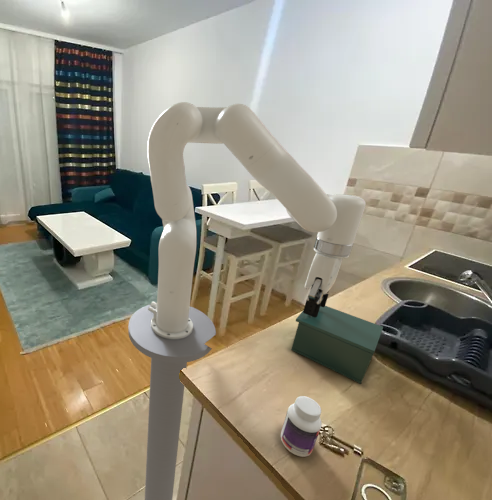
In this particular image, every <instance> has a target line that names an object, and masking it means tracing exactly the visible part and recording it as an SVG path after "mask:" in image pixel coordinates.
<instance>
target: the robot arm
mask: <svg viewBox="0 0 492 500" xmlns="http://www.w3.org/2000/svg"><path fill="white" fill-rule="evenodd" d="M150 128H151V129H150V131H149V135H148V137H147V145H146V146H147V147H146V151H147V152H146V154H147V161H148V167H149V169H148V170H149V175H150V183H151V188H152V196H153V204H154V209H155V212H156V214H157V215H158V216H159V218H160V219H161V221H162V227H163V230H162V233H161V235H160V239H159V242H158V273H157V297H156V302H155V301H151V303H150V304H149V305H150V306H151V307H149V308H148V310H149V311H150V312H152V313H153V314H154V316H153V318H152V320H151V328H152V330H153V331H154V332H155V333H156V334H157V335H159V336H161V337H163V338H166V339H182V338H185V337H187V336H189V335H190V334H191V332H192V330H193V323H192V321H191V319H190V318H189V308H190V306H191V297H192V287H193V279H194V269H195V262H196V261H195V260H196V256H197V255H196V254H197V224H196V216H195V215H196V214H195V208H194V200H193V194H192V190H191V188H190V186H189V185H188V183H187V179H186V178H187V176H186V166H185V158H184V150H185V147H186V145H188V144H190V143H191V144H192V143H193V144H212V145H213V144H219V145H220V144H224V146H225V147H226V149H228V150H229V151H230V152H231V154H232V155H233V156H234V157H235V159H237V160H238V162H239V163H240V164H241V165H242V166H243V167H244V168H245V169H246V171H247V172H248V173H249V174H250V175H251V177H253V179H254V180H255V181H256V182H257V183H258V184H259V185H260V186H262V187H263V188H264V189H265V190H267V191H268V192H269V193H271V195H272V196H274V197H275V198H276V199H277V200H278V202H279V203H280V204H281V205H282V206H283V207H284V208H285V209H286V213H287V215H288V216H289V217H290V218H291V219H292V220H293V221H294V222H295V223H297V224H298V225H299V227H301V228H302V229H303V230H305V231H307V232H310V233H317V235H316V239H315V242H314V246H313V251H314V252H315V255H314V257H313V259H312V261H311V265H310V268H309V271H308V273H307V277H306V280H305V283H304V286H303V287H304V289H305V290H309V289H310V290H309V292H308V296H307V298H306V300H305V304H304V308H303V310H304V311H303V310H302V311H303V313H305V314H307V315H310V316H312V317H315V318H316V317H317V316H318V312H319V309H320V306H321V307H325V306H326V304H327V301H328V297H329V295H330V294H329V293H330V290H331V288H333V286H334V285H335V282H336V280H337V277H338V275H339V272H340V269H341V265H342V262H343V259H348V258H350V255H351V252H352V249H353V246H354V243H355V241H356V237H357V234H358V232H359V228H360V225H361V222H362V218H363V215H364V212H365V211H366V210H365V209H366V205H367V203H366V200H365V199H364V198H362V197H360V196H357V195H351V194H344V193H343V194H342V193H341V194H340V193H337V194H336V193H335V194H327V193H326V192H325V191H324V190H323V188H322V187H321V186H320V185H319V184H318V182H316V181H315V179H314V178H313V177H312V176H311V175H310V174H309V172H307V171H306V170H305V169H304V167H302V166H301V164H300V163H298V161H297V160H296V159H295V158H294V157H293V155H292V154H290V153H289V152H288V151H287V150H286V148H284V146H283V145H282V144H281V143H280V141H279V140H278V139H277V138H276V137H275V135H274V134H272V132H271V131H270V130H269V128H268V127H267V126H266V125H265V124H264V123H263V121H262V120H261V119H260V118H259V116H258V115H257V114H256V113H255V112H254V111H253V110H252V109H251V108H250V107H249V106H248V105H246V104H243V103H233V104H231V105H228V106H224V107H223V106H222V107H221V106H219V107H217V106H215V107H214V106H212V107H211V106H210V107H209V106H208V107H207V106H196V105H194V104H193V103H191V102H187V101H180V102H177V103H174V104H172V105H171V106H169V107H167V109H165V110H164V111H163V112H162V113H161V114H160V115H159V116H158V117H157V118H156V120H155V121H154V123H153V125H152V127H150ZM317 294H320V295H319V298H318V297H317ZM322 296H323V297H324V299H323V300H322V301H321V299H322ZM320 301H321V303H320Z"/></svg>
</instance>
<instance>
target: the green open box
mask: <svg viewBox="0 0 492 500" xmlns="http://www.w3.org/2000/svg"><path fill="white" fill-rule="evenodd" d="M290 350H291V351H292V352H295V353H297V354H299V355H301V356H303V357H304V358H307V359H309V360H310V361H313V362H315V363H317V364H319V365H321V366H323V367H325V368H328V369H329V370H331V371H333V372H335V373H338V374H339V375H341V376H344V377H346V378H348V379H349V380H352V381H354V382H357V383H358V384H360V385H361V384H362V383H363V380H364V378H365V375H366V373H367V371H368V368H369V366H370V363H371V361H372V358H373V356H374V354H372V353H370V352H368V351H365V350H363V349H360V348H358V347H356V346H353V345H351V344H349V343H346V342H344V341H341V340H339V339H337V338H334V337H332V336H330V335H327V334H325V333H322V332H320V331H318V330H315V329H313V328H311V327H308V326H306V325H304V324H301V323H299V322H298V324H297V328H296V332H295V335H294V339H293V342H292V346H291V349H290Z"/></svg>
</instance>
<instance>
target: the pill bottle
mask: <svg viewBox="0 0 492 500" xmlns="http://www.w3.org/2000/svg"><path fill="white" fill-rule="evenodd" d="M321 415H322V407H321V406H320V404H319V402H317V401H316V400H315V399H313V398H311V397H309V396H305V395H300V396H297V397H296V399H295V401H294V403H292V404H290V405H289V406H288V408H287V411H286V415H285V417H284V421H283V425H282V428H281V431H280V440H281V443H282V445H283V446H284V448H285V449H286V450H288V451H289V452H290V453H291V454H292V455H295V456H297V457H302V458H304V457H308V456H310V455H311V454H312V453H313V450H314V448H315V445H316V442H317V439H318V437H319V434H320V432H321V429H322V424H323V423H322V419H321Z"/></svg>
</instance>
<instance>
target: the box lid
mask: <svg viewBox="0 0 492 500" xmlns="http://www.w3.org/2000/svg"><path fill="white" fill-rule="evenodd" d="M319 295H320V294H317V297H318V298H319ZM323 299H324V297H323V296H322V299H321V301H322V300H323ZM321 301H320V303H321ZM303 311H304V309H303V310H301V312H300V313H299V315H298V316H297V317H296V318H295V322H296V323H298V324H299V323H301V324H304V325H306V326H308V327H311V328H313V329H315V330H318V331H320V332H322V333H325V334H327V335H330V336H332V337H334V338H337V339H339V340H341V341H344V342H346V343H349V344H351V345H353V346H356V347H358V348H360V349H363V350H365V351H368V352H370V353H372V354H373V355H374V354H375V351H376V349H377V346H378V343H379V340H380V338H381V335H382V332H383V328H384V326H383V325H379V324H377V323H374V322H372V321H368V320H367V319H363V318H360V317H357V316H356V315H352V314H349V313H346V312H344V311H342V310H341V311H340V310H338V309H336V308H333V307H330V306H327V305H325V307H321V306H320V309H319V312H318V316H317V317H316V318H315V317H312V316H310V315H307V314H305V313H303Z"/></svg>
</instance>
